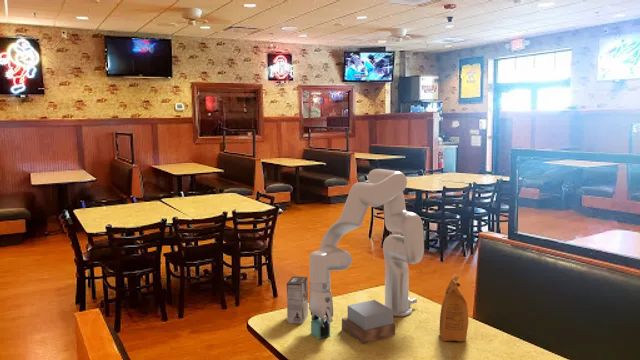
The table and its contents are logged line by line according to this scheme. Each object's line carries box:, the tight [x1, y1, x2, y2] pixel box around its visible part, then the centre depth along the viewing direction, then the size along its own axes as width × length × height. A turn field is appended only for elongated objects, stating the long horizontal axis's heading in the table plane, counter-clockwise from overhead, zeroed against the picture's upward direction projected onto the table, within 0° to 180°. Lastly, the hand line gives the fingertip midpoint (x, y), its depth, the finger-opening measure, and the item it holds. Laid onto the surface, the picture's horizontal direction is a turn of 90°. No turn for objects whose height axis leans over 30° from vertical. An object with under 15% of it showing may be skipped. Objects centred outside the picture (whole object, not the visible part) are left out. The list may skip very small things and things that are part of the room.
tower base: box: [341, 316, 396, 345], centre depth 181 cm, size 14×14×5 cm
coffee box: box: [286, 275, 309, 325], centre depth 192 cm, size 9×6×16 cm
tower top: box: [347, 299, 394, 330], centre depth 180 cm, size 12×12×5 cm
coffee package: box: [439, 273, 469, 342], centre depth 176 cm, size 10×12×22 cm
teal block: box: [310, 318, 331, 340], centre depth 179 cm, size 5×5×5 cm
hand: (320, 332), depth 179 cm, fingers closed on teal block, 5 cm apart
